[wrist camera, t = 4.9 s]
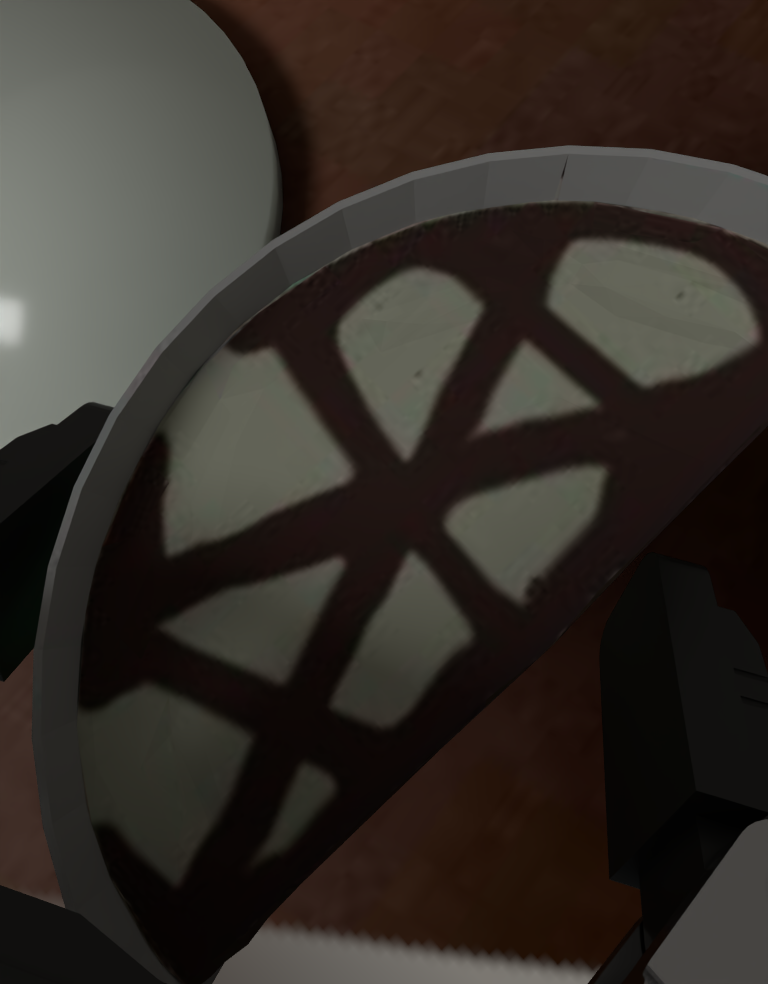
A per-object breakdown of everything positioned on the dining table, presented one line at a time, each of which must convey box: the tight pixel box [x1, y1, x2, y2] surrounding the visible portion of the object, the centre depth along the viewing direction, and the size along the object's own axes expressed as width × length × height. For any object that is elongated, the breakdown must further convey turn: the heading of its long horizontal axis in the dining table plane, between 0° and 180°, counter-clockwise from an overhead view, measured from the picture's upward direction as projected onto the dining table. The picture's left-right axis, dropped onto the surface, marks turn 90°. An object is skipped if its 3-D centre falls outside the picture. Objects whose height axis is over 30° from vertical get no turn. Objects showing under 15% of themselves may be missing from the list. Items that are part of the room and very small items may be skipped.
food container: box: [32, 146, 768, 984], centre depth 11 cm, size 12×6×10 cm, turn 134°
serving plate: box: [0, 0, 283, 449], centre depth 18 cm, size 15×15×1 cm
